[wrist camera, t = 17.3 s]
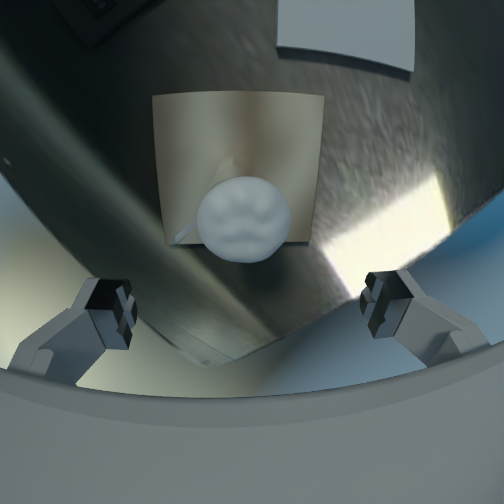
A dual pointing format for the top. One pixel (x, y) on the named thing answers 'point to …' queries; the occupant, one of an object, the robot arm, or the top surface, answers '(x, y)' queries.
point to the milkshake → (241, 212)
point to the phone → (97, 16)
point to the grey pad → (350, 29)
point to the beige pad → (236, 149)
